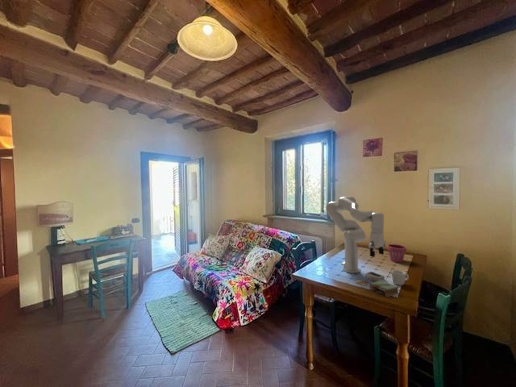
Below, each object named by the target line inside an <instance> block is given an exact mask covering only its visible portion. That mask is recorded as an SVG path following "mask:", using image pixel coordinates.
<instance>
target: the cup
mask: <svg viewBox="0 0 516 387" xmlns="http://www.w3.org/2000/svg"><path fill="white" fill-rule="evenodd" d="M391 277H392V284H393V285H394V284H395V286H397V285H398V286H404V285H405V282H406V281H409V274H408V273H406V272H405V271H403V270H398V269H393V270H391Z"/></svg>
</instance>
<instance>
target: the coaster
mask: <svg viewBox="0 0 516 387" xmlns="http://www.w3.org/2000/svg"><path fill="white" fill-rule="evenodd" d="M355 283H356V284H357V285H360V286H366V285H368V281H367V280H362V279H361V280H360V279H359V280H356V281H355Z"/></svg>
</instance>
